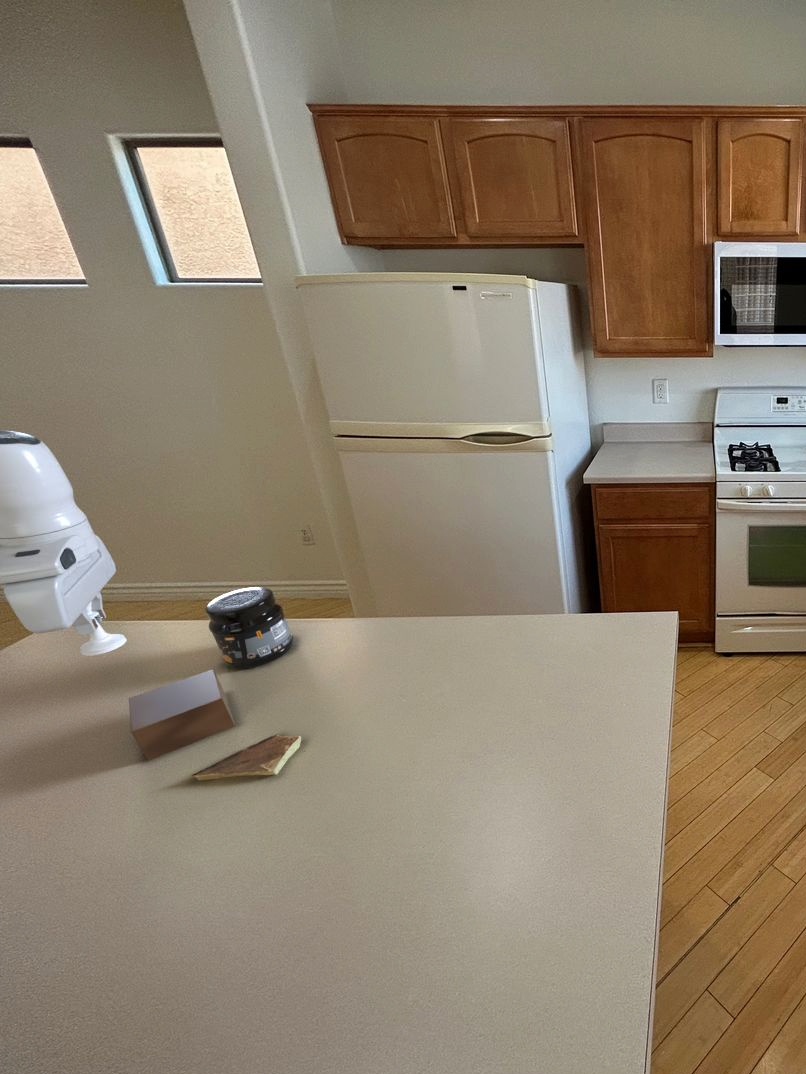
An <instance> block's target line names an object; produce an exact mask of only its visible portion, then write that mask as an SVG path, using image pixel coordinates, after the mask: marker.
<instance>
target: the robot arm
mask: <svg viewBox="0 0 806 1074" xmlns="http://www.w3.org/2000/svg"><path fill="white" fill-rule="evenodd" d="M116 573H117V567H116V563H115V561H114V560H113V557H112V555H111V554H110V552H109V551H108V549H107V547H106V545H105V543H104V542H103V541H102V539H101V538H100V537H99V536H98V535H97V534H96V533H95V532H94V530H93V528H92V526H91V524H90V522H89V519H88V517H87V515H86V514H85V513H84V511H82V510H81V508H79V506H78V504H76V501H75V497H74V489H73V486H72V484H71V482H70V480H69V478H68V477H67V474H66V473H65V471H64V469H63V467H62V465H61V464H60V463H59V461H58V459H57V458H56V456H55V455H54V453H53V451H52V450H51V449H50V448H49V447H48V446H47V445H46V443H45V442H43V441H42V440H41V439H39V438H38V437H36V436H33V435H31V434H27V433H23V432H21V431H20V432H19V431H13V430H1V429H0V585H2V584H3V594H4V597H5V599H6V600H7V603H8V604H9V606H10V607H11V610H12V611H13V612H14V614H15V615H16V617H17V618H18V620H19V622H20V623H21V624H22V625H23V626H24V628H25V629H26V630H27V631H29V632H31V633H33V634H37V635H40V634H41V635H42V634H46V633H53V632H57V631H63V630H67V629H69V628H70V627H71V626H72V627H73V628H74V629H75V631H76V634H77V635H79V636H82V637H83V636H88V635H90V634H93V633H94V632H95V631H96V629H97V628H98V625H97V624H96V621H95V619H96V620H97V622H98V623H99V624H102V623H103V622H104V620H105V619H106V618H107V614H106V613H105V611H104V609H103V607H104V606H103V597H102V595H103V594H102V593H101V590H103V588H104V587H105V586H107V583H109V581H110V580H112V578H113V576H114V575H115V574H116ZM90 602H92V603H91V611H97V612H98V613H99V614H98V615H97V616H95V619H90V618H89V617H88V615H87V614H86V613H87V610H86V607H87V606H88V605H89V604H90Z"/></svg>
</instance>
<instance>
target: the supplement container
mask: <svg viewBox="0 0 806 1074" xmlns="http://www.w3.org/2000/svg"><path fill="white" fill-rule="evenodd" d="M204 612H205V614H206V616H207V618H208V620H209V623H208V630H209V631H210V633H211V634H212V636H213V638H214V641H215V643H216V644H217V647H218V649H219V651H220V654H221V656H222V659H223V662H224V664H225V665H226V666H228V667H230V668H232V669H237V670H239V669H240V670H245V669H253V668H257V667H261V666H265V665H267V664H270V663H272V662H274V661H277V660H278V659H281V658H282V657H284V656H285V655H286V654H288V653H289V652H290V651H291V649H293V647H294V644H295V639H294V636H293V633H292V632H291V630H290V627H289V624H288V621H287V619H286V616H285V613H284V609H283V606H282V604H281V603H279V602H278V601H276V597H275V595H274V592H273V590H272V589H270V588H268V587H263V586H254V587H246V588H241V589H237V590H233V591H230V592H227V593H223V594H222V595H220V596H218V597H216V598H214V599H213V600H211V601H210V602H209V603H208V604H206V606H205V611H204Z"/></svg>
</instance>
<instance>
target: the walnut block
mask: <svg viewBox="0 0 806 1074" xmlns="http://www.w3.org/2000/svg"><path fill="white" fill-rule="evenodd" d="M128 707H129V722H130V723H129V724H130V733H131V734H132V736H133V738H134V740H135V741H136V743H137V745H138V747H139V749H140V750H141V752H142V754H143V755H144V757H145V759H146V761H147V762H149V761H152V760H155V759H158V758H160V757H163V756H165V755H167V754H170V753H173V752H174V751H177V750H180V749H182V748H184V747H187V746H189V745H192V744H194V743H197V742H199V741H201V740H204V739H207V738H209V737H213V736H214V735H216V734H219V733H222V732H225V731H226V730H229V729H231V728H234V727H236V725H235V721H234V718H233V715H232V711H231V708H230V704H229V701H228V699H227V695H226V692H225V690H224V688H223V687H222V684H221V682H220V680H219V677H218V675H217V674H216V672H215V669H214V668H213V669H210V670H206V671H204V672H201V673H198V674H195V675H192V676H190V677H189V676H188V677H187V678H183V679H181V680H178V681H174V682H172V683H169V684H166V685H163V686H160V687H157V688H154V689H152V690H148V691H145V692H142V693H140V694H136V695H134V696H130V697H129V698H128Z"/></svg>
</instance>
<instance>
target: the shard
mask: <svg viewBox="0 0 806 1074" xmlns="http://www.w3.org/2000/svg"><path fill="white" fill-rule="evenodd" d="M301 741H302V737H301V736H300V735H279V734H277V733H276V734H274V735H272V736H269V737H268V738H265V739H262V740H260V741H259V742H257V743H254V744H252V745H249V746H247V747H245V748H244V749H241V750H238V751H236V752H235V753H233V754H230V755H229V756H227V757H225V758H223V759H221V760H219V761H217V762H216V763H214V764H212V765H209V766H207V767H205V768H203V769H201V770H199V771H197V772H195V773H192V774H191V775H190V777H193V778H196V779H197V781H204V780H214V779H220V778H231V777H232V778H233V777H237V776H241V777H243V776H245V777H247V776H272V775H274V776H275V775H278V774H279V772H280V771H281V769H282V768H283V767H284V765H285V764H286V763H287V761H288V760H289V758H291V757H292V755H294V754H295V752H296V751H297V750H299V748H300V747H301Z"/></svg>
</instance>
